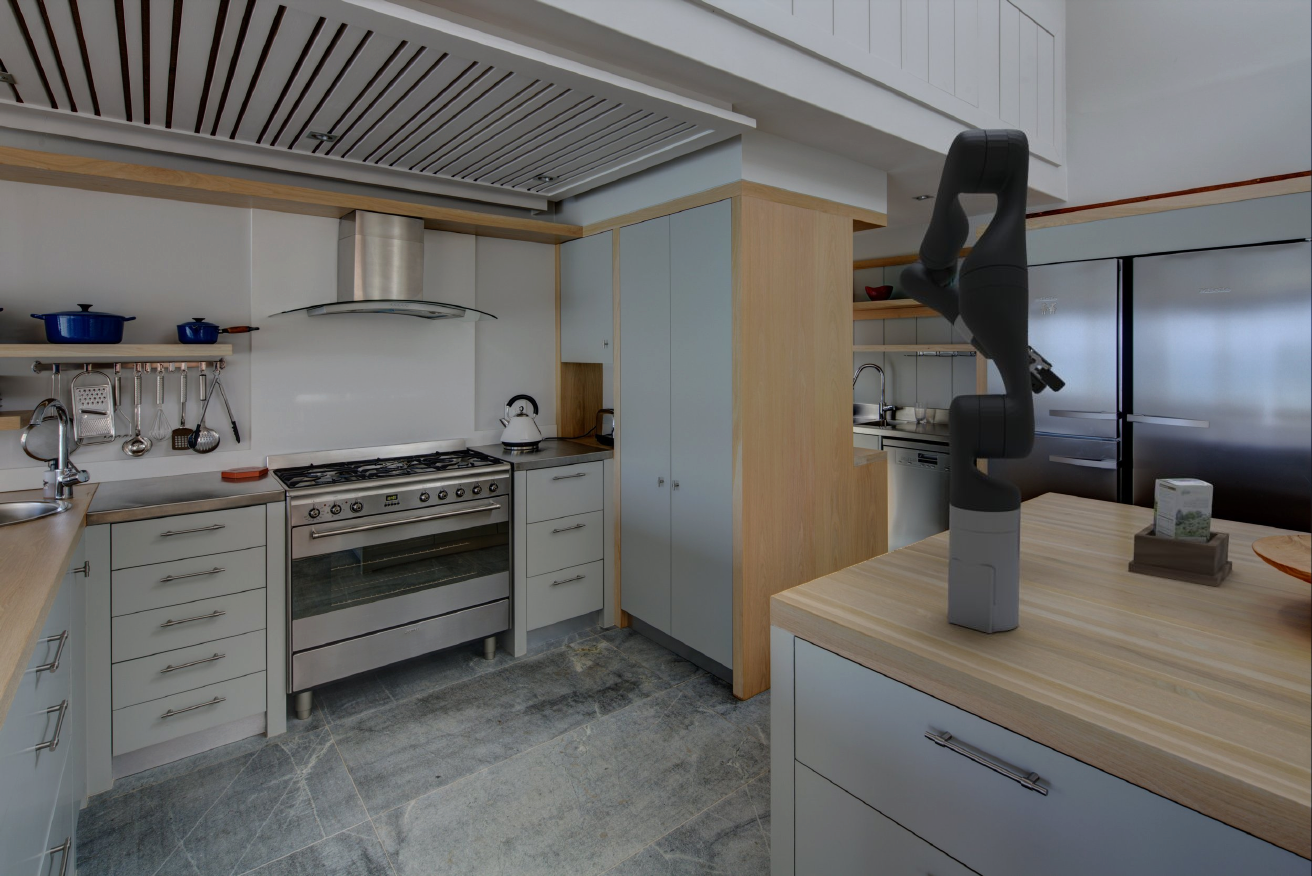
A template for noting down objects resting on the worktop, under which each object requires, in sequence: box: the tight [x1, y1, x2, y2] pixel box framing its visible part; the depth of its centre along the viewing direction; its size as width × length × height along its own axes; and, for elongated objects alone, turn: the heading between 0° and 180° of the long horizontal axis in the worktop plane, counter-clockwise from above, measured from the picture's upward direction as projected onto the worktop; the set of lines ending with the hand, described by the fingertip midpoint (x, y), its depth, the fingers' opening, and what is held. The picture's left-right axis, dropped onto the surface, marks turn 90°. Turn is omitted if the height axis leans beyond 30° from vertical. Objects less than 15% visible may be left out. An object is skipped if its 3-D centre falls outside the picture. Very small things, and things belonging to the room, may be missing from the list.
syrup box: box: [1152, 478, 1214, 544], centre depth 113 cm, size 6×6×14 cm
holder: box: [1127, 523, 1233, 588], centre depth 113 cm, size 12×12×6 cm
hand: (1051, 389), depth 115 cm, fingers open, 8 cm apart
